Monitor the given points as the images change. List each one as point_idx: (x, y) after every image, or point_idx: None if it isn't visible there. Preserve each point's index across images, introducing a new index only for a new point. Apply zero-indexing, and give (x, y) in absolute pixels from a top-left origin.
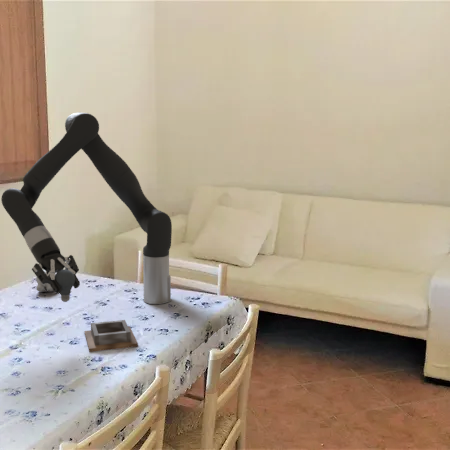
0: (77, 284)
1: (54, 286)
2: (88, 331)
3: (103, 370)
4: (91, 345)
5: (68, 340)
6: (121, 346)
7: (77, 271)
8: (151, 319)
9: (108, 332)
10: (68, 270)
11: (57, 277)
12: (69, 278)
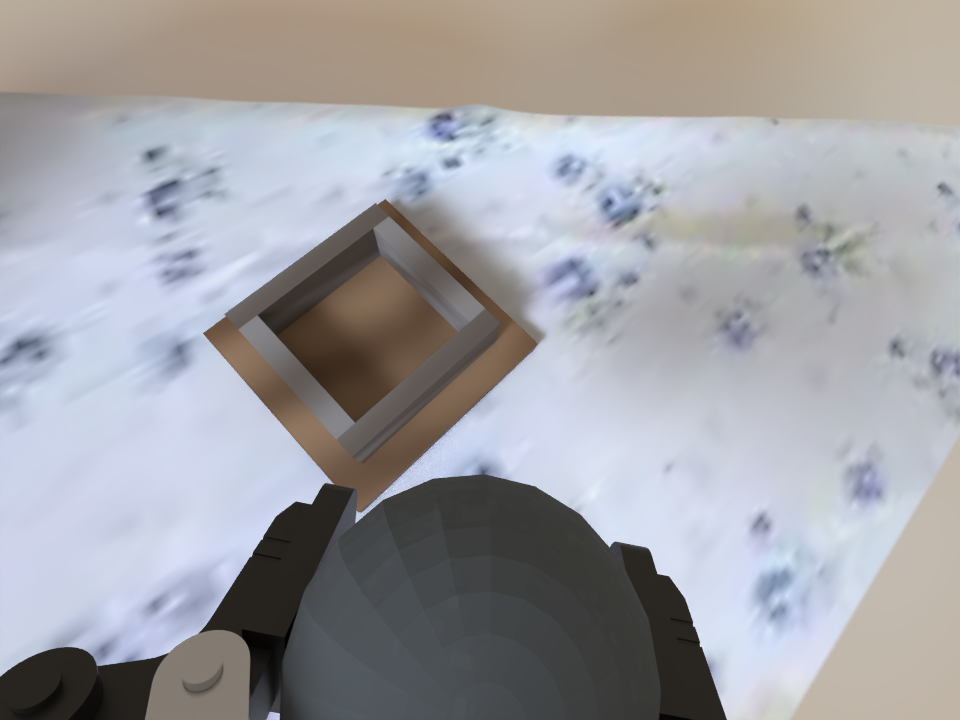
0: (353, 497)
1: (696, 638)
2: (354, 486)
3: (636, 208)
4: (502, 357)
5: None
6: (434, 249)
7: (88, 659)
8: (33, 316)
9: (325, 380)
10: (413, 635)
11: (659, 700)
12: (527, 492)
